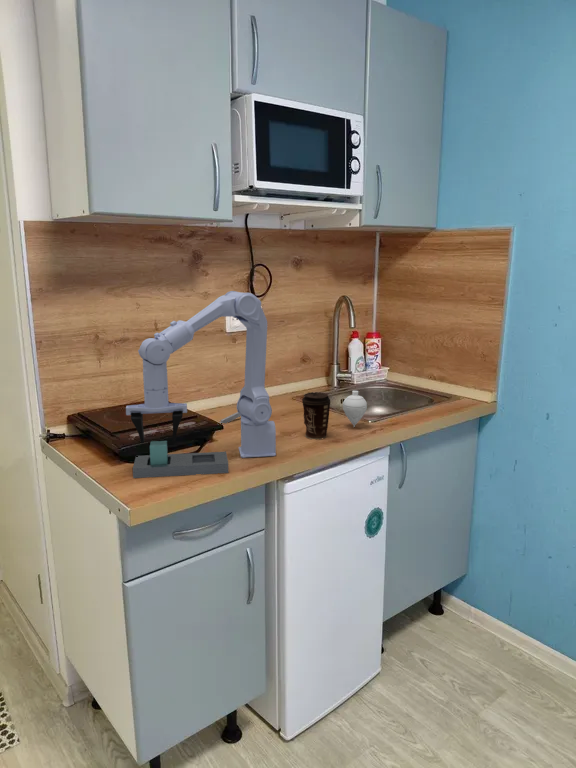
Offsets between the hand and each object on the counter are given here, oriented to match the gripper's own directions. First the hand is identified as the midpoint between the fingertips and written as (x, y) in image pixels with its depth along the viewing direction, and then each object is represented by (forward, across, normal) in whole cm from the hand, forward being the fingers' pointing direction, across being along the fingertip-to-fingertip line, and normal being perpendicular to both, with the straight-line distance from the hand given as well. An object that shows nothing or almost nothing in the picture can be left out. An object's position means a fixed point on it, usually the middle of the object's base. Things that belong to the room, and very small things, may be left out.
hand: (158, 441), depth 140 cm
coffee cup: (+8, -45, -22) cm, 50 cm away
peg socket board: (+8, -5, 0) cm, 9 cm away
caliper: (+8, -25, -44) cm, 51 cm away
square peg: (+8, 0, 0) cm, 8 cm away
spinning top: (+8, -59, -28) cm, 66 cm away
